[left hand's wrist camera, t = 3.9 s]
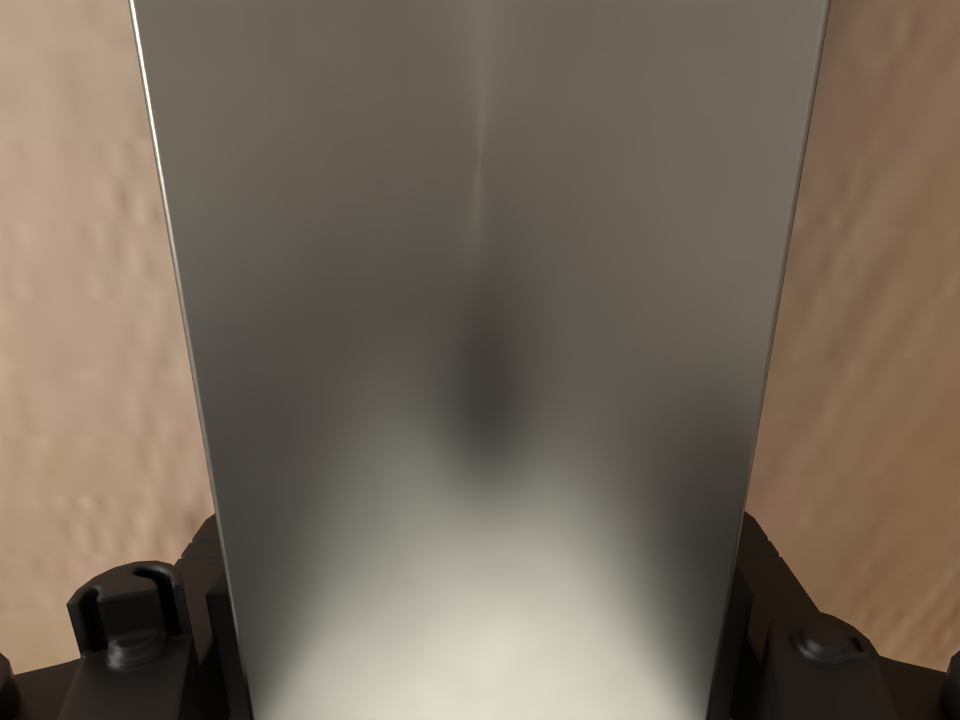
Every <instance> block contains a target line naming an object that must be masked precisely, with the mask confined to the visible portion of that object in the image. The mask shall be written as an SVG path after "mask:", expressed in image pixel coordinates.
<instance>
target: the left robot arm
mask: <svg viewBox="0 0 960 720" xmlns="http://www.w3.org/2000/svg"><path fill="white" fill-rule="evenodd" d="M767 538H768V537H767V536H766V534H765V533H764V531H763V530H762V528H761V527H760V526H759V524H758V523H757V521H756V520H755V518H753V517H752V516H751V515H749V514H748V513H747V512H745V511H744V517H743V523H742V529H741V535H740V541H739V547H738V553H737V558H736V564H735V570H734V576H733V582H732V588H731V594H730V600H729V606H728V612H727V618H726V624H725V629H724V635H723V641H722V647H721V653H720V659H719V665H718V671H717V677H716V683H715V689H714V695H713V700H712V706H711V712H710V718H709V720H731V719H732V720H960V651H958V652H957V653H956V654H955V655H954V656H952V657H951V660H950V663H949V666H948V669H947V672H942V671H937V670H933V669H929V668H925V667H920V666H916V665H912V664H908V663H903V662H899V661H895V660H892V659H889V658H885V657H882V656H879V654H878V653H877V651H876V650H875V648H874V647H873V645H872V643H871V642H870V640H869V639H867V638H866V637H865V636H864V635H863V634H862V633H860V632H859V631H858V630H857V629H856V628H855V627H853V626H851V625H850V624H848V623H846V622H844V621H842V620H840V619H838V618H836V617H835V616H832V615H829V614H825V613H822V612H820V611H819V610H818V609H817V607H816V606H815V604H814V603H813V601H812V600H811V599H810V597H809V596H808V594H807V593H806V591H805V590H804V589H803V587H802V586H801V584H800V583H799V581H798V580H797V579H796V577H795V576H794V574H793V573H792V571H791V570H790V569H789V567H788V566H787V564H786V563H785V561H784V560H783V559H782V557H779V555H778V554H779V553H778V551H777V550H776V548H775V547H774V546H773V544H772V543H771V541H768V539H767ZM66 605H67V608H68V612H69V615H70V619H71V622H72V626H73V630H74V633H75V637H76V640H77V644H78V647H79V651H80V654H81V657H80V659H76V660H73V661H70V662H67V663H63V664H59V665H55V666H51V667H46V668H42V669H38V670H34V671H30V672H25V673H21V674H17V675H14V674H13V671H12V668H11V665H10V662H9V660H8V659H7V658H6V657H5V656H3V655H2V654H1V653H0V720H250V715H249V709H248V704H247V698H246V692H245V686H244V680H243V674H242V668H241V662H240V656H239V651H238V645H237V639H236V633H235V627H234V621H233V615H232V609H231V603H230V597H229V592H228V586H227V580H226V574H225V568H224V562H223V556H222V550H221V544H220V538H219V533H218V527H217V521H216V515H215V514H213V515H212V516H211V517H209V518H208V519H206V520H205V522H204V523H203V525H202V526H201V527H200V529H199V530H198V532H197V533H196V535H195V536H194V538H193V539H192V543H189V545H188V546H187V548H186V549H185V551H184V552H183V553H182V555H181V559H178V561H177V562H176V563H175V565H174V566H173V565H172V564H168V563H164V562H160V561H139V562H133V563H129V564H126V565H122V566H118V567H115V568H112V569H110V570H108V571H106V572H104V573H102V574H100V575H98V576H96V577H94V578H92V579H91V580H90V581H88V582H87V583H86V584H84V585H83V586H82V587H80V588H79V589H78V590H77V591H76V592H75V593H74V595H73V596H72V597H71V599H70V600H69V602H68V603H67V604H66Z"/></svg>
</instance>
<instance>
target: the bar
mask: <svg viewBox="0 0 960 720" xmlns="http://www.w3.org/2000/svg"><path fill="white" fill-rule="evenodd" d="M128 2H129V8H130V14H131V20H132V25H133V31H134V37H135V43H136V49H137V55H138V61H139V67H140V73H141V78H142V84H143V90H144V96H145V102H146V108H147V114H148V120H149V126H150V132H151V137H152V143H153V149H154V155H155V161H156V167H157V173H158V179H159V185H160V191H161V196H162V202H163V208H164V214H165V220H166V226H167V232H168V238H169V244H170V250H171V255H172V261H173V267H174V273H175V279H176V285H177V291H178V297H179V303H180V308H181V314H182V320H183V326H184V332H185V338H186V344H187V350H188V356H189V362H190V367H191V373H192V379H193V385H194V391H195V397H196V403H197V409H198V415H199V421H200V426H201V432H202V438H203V444H204V450H205V456H206V462H207V468H208V474H209V480H210V485H211V491H212V497H213V503H214V509H215V515H216V521H217V527H218V533H219V538H220V544H221V550H222V556H223V562H224V568H225V574H226V580H227V586H228V592H229V597H230V603H231V609H232V615H233V621H234V627H235V633H236V639H237V645H238V651H239V656H240V662H241V668H242V674H243V680H244V686H245V692H246V698H247V704H248V709H249V715H250V720H709V718H710V712H711V706H712V700H713V695H714V689H715V683H716V677H717V671H718V665H719V659H720V653H721V647H722V641H723V635H724V629H725V624H726V618H727V612H728V606H729V600H730V594H731V588H732V582H733V576H734V570H735V564H736V558H737V553H738V547H739V541H740V535H741V529H742V523H743V517H744V511H745V505H746V499H747V493H748V487H749V482H750V476H751V470H752V464H753V458H754V452H755V446H756V440H757V434H758V428H759V422H760V416H761V410H762V405H763V399H764V393H765V387H766V381H767V375H768V369H769V363H770V357H771V351H772V345H773V339H774V334H775V328H776V322H777V316H778V310H779V304H780V298H781V292H782V286H783V280H784V274H785V268H786V263H787V257H788V251H789V245H790V239H791V233H792V227H793V221H794V215H795V209H796V203H797V197H798V192H799V186H800V180H801V174H802V168H803V162H804V156H805V150H806V144H807V138H808V132H809V126H810V121H811V115H812V109H813V103H814V97H815V91H816V85H817V79H818V73H819V67H820V61H821V55H822V50H823V44H824V38H825V32H826V26H827V20H828V14H829V8H830V2H831V0H128Z"/></svg>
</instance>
